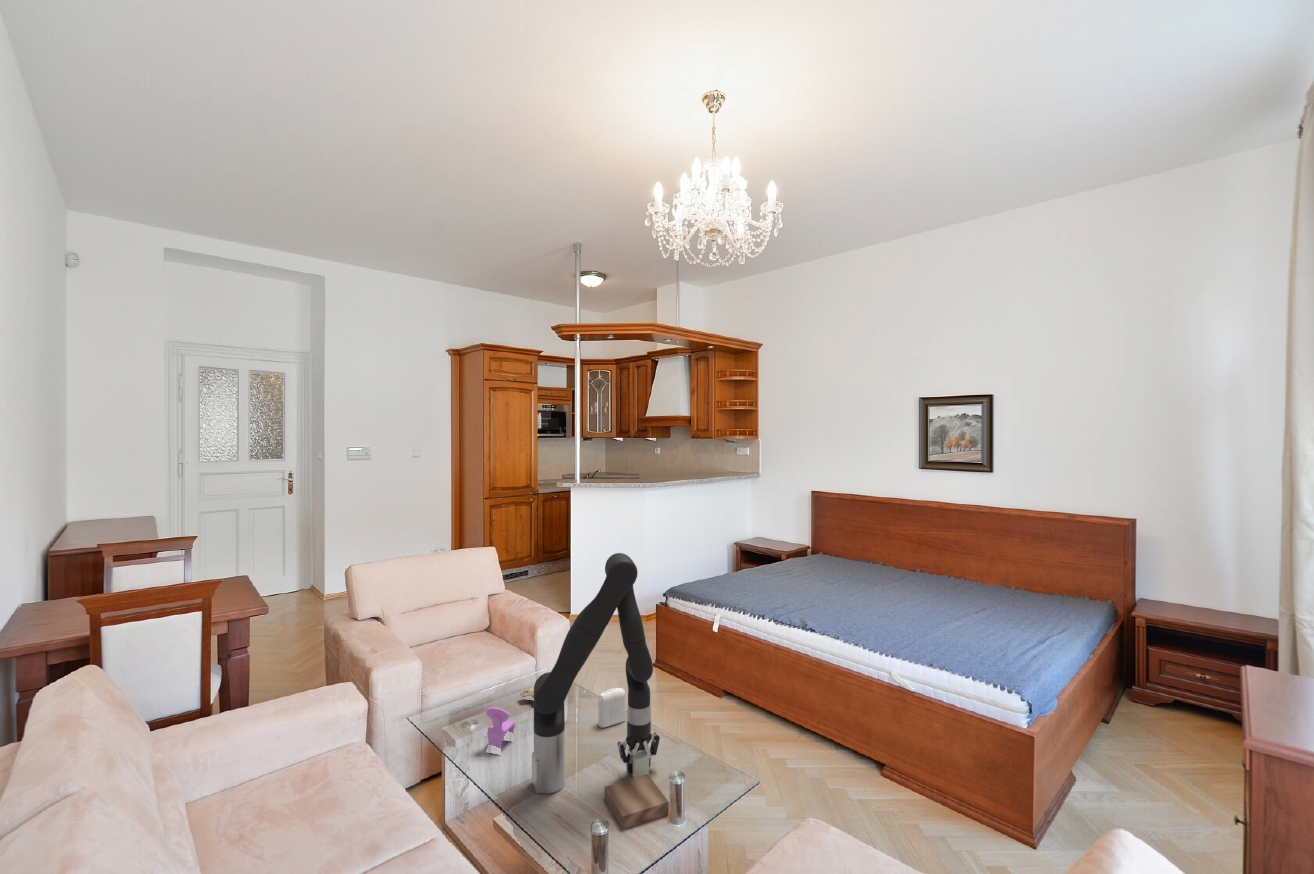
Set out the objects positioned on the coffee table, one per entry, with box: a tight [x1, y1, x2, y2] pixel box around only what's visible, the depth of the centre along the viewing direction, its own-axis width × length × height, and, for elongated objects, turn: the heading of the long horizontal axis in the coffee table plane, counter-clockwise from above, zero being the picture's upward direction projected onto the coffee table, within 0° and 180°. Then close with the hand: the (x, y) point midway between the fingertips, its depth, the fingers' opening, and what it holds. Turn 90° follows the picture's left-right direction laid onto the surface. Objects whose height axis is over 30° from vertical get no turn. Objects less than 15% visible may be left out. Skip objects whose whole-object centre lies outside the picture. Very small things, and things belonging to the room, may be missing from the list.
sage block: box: [631, 750, 650, 779], centre depth 185 cm, size 5×5×6 cm
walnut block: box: [603, 774, 670, 830], centre depth 169 cm, size 14×14×4 cm
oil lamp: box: [520, 689, 534, 698], centre depth 228 cm, size 11×14×5 cm
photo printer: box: [597, 687, 626, 729], centre depth 214 cm, size 10×4×12 cm, turn 123°
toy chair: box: [485, 706, 516, 749], centre depth 198 cm, size 8×9×15 cm
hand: (638, 770), depth 185 cm, fingers closed on sage block, 5 cm apart
